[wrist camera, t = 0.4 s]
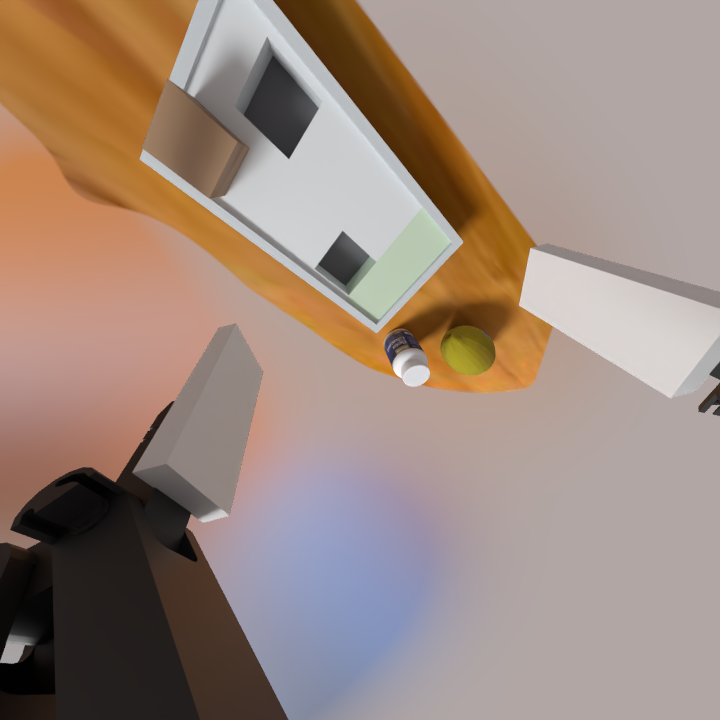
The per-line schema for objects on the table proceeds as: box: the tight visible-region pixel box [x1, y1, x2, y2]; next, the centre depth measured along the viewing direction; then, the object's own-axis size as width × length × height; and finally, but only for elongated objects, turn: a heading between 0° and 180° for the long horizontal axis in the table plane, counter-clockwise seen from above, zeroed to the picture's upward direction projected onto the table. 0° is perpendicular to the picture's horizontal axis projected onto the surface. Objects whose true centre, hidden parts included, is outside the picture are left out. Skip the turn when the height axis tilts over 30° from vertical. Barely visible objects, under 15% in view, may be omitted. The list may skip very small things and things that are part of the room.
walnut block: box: [142, 79, 250, 199], centre depth 22 cm, size 5×5×5 cm
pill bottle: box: [384, 329, 430, 386], centre depth 40 cm, size 5×5×10 cm
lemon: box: [441, 325, 495, 375], centre depth 42 cm, size 11×8×8 cm
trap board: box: [140, 0, 463, 333], centre depth 29 cm, size 30×16×5 cm, turn 49°
